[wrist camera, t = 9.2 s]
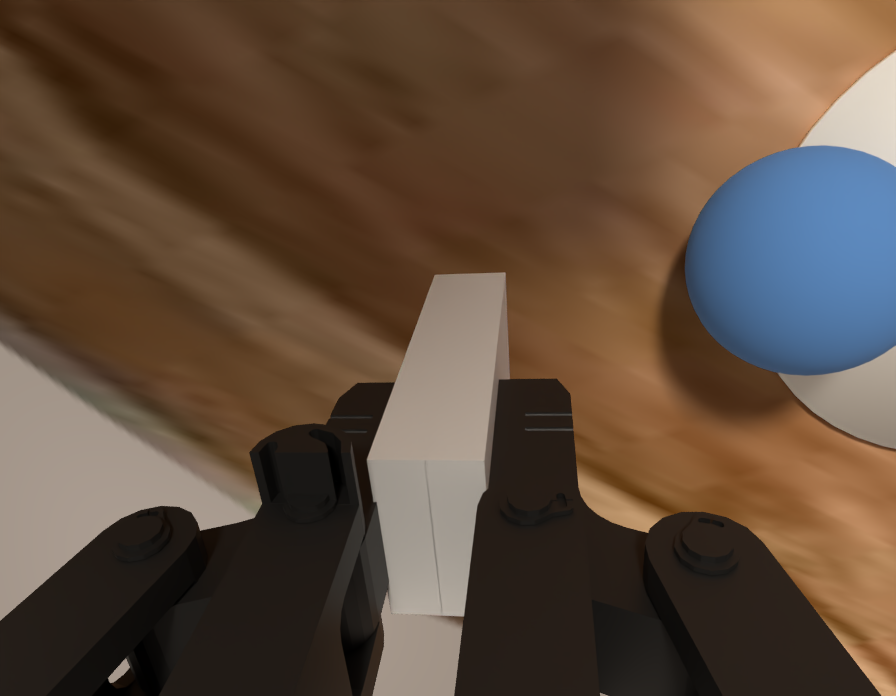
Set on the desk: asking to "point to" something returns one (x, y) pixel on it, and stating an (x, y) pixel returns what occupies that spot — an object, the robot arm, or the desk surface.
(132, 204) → the desk surface
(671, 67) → the desk surface
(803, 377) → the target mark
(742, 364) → the desk surface
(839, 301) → the ball
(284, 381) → the desk surface
